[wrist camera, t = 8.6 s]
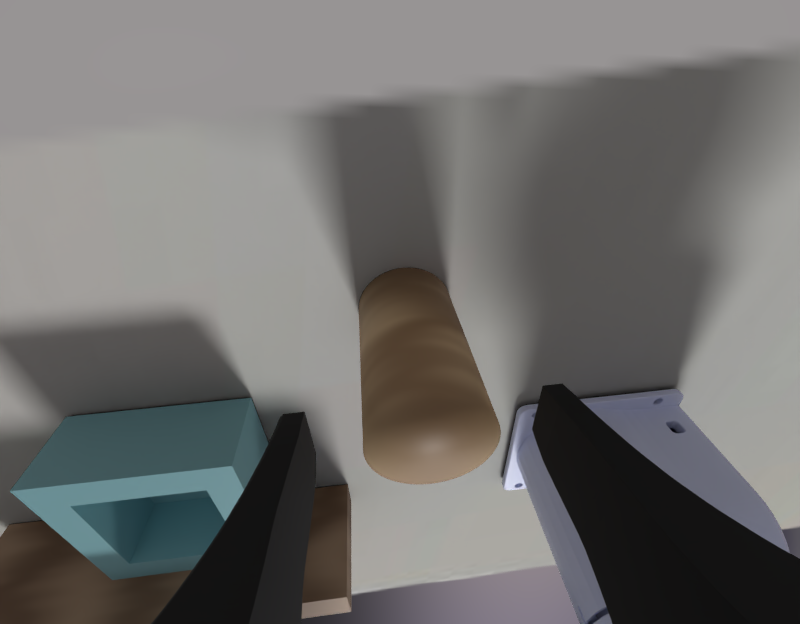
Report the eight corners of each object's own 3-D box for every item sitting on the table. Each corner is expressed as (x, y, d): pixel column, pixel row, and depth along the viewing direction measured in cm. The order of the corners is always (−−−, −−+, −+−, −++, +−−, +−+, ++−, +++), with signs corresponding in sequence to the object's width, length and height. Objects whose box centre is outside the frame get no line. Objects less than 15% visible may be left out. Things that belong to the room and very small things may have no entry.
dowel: (451, 263, 16) (509, 389, 10) (448, 339, 18) (493, 476, 12) (354, 271, 15) (356, 406, 10) (363, 347, 18) (369, 491, 12)
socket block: (251, 397, 19) (232, 465, 16) (287, 492, 24) (278, 558, 21) (66, 416, 18) (10, 491, 15) (143, 510, 23) (112, 580, 20)
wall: (347, 484, 24) (346, 597, 19) (351, 501, 25) (351, 611, 20) (9, 524, 23) (-84, 656, 18) (29, 540, 24) (-53, 668, 19)
